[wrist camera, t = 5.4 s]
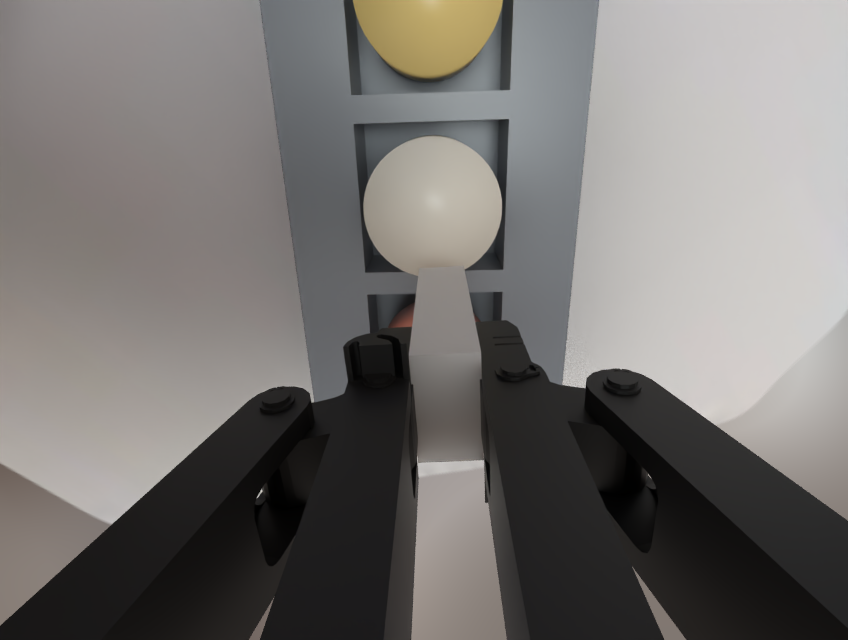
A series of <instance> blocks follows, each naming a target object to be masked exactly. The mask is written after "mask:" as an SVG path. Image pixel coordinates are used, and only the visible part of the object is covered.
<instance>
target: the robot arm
mask: <svg viewBox="0 0 848 640" xmlns="http://www.w3.org/2000/svg"><path fill="white" fill-rule="evenodd" d="M343 351H344V358H345V365H346V371H347V378H348V383H347V386H346V389H345V392H344V394H342V395H340V396H337V397H334V398H331V399H327V400H323V401H318V402H314V403H311V398H310V394H309V392H307V391H306V390H305V389H303V388H298V387H285V386H282V387H277V388H276V387H275V388H272V389H269V390H267V391H265V392H263V393H260V394H258V395H256V396H255V397H254V398H252V399H251V400H249V401H248V402H247V403H246V404H245V405H244V406H242V407H241V408H240V409H239V410H238V411H237V412H236V413H235V414H234V415H232V416H231V417H230V418H229V419H228V420H227V421H226V422H225V423H224V424H223V425H221V426H220V427H219V428H218V429H217V430H216V431H215V432H214V433H213V434H212V435H210V436H209V437H208V438H207V439H206V440H205V441H204V442H203V443H202V444H200V445H199V446H198V447H197V448H196V449H195V450H194V451H193V452H192V453H191V454H189V455H188V456H187V457H186V458H185V459H184V460H183V461H182V462H181V463H179V464H178V465H177V466H176V467H175V468H174V469H173V470H172V471H171V472H170V473H168V474H167V475H166V476H165V477H164V478H163V479H162V480H161V481H160V482H158V483H157V484H156V485H155V486H154V487H153V488H152V489H151V490H150V491H149V492H147V493H146V494H145V495H144V496H143V497H142V498H141V499H140V500H139V501H137V502H136V503H135V504H134V505H133V506H132V507H131V508H130V509H129V510H128V511H126V512H125V513H124V514H123V515H122V516H121V517H120V518H119V519H118V520H117V521H115V522H114V523H113V524H112V525H111V526H110V527H109V528H108V529H107V530H105V531H104V532H103V533H102V534H101V535H100V536H99V537H98V538H97V539H96V540H94V542H92V543H91V544H90V545H89V546H88V547H87V548H86V549H85V550H83V551H82V552H81V553H80V554H79V555H78V556H77V557H76V558H75V559H73V560H72V561H71V562H70V563H69V564H68V565H67V566H66V567H65V568H63V569H62V570H61V571H60V572H59V573H58V574H57V575H56V576H55V577H54V578H52V579H51V580H50V581H49V582H48V583H47V584H46V585H45V586H44V587H43V588H42V589H40V590H39V591H38V592H37V593H36V594H35V595H34V596H33V597H32V598H30V599H29V600H28V601H27V602H26V603H25V604H24V605H23V606H22V607H20V608H19V609H18V610H17V611H16V612H15V613H14V614H13V615H12V616H11V617H9V618H8V619H7V620H6V621H5V622H4V623H3V624H2V625H1V626H0V640H249V638H250V636H251V635H252V633H253V631H254V630H255V628H256V626H257V625H258V623H259V621H260V620H261V618H262V616H263V615H264V613H265V611H266V610H267V608H268V606H269V605H270V603H271V601H272V600H273V598H274V600H273V603H272V606H271V609H270V612H269V615H268V618H267V621H266V623H265V626H264V629H263V632H262V635H261V638H260V640H411V632H412V631H411V630H412V610H413V588H414V565H415V545H416V544H415V542H416V522H417V500H418V479H419V477H418V466H417V456H418V463H421V462H446V461H471V460H484V471H485V502H486V503H488V504H489V511H490V518H491V526H492V533H493V540H494V548H495V555H496V563H497V570H498V577H499V584H500V591H501V599H502V606H503V614H504V621H505V629H506V636H507V640H664V638H663V636H662V633H661V631H660V629H659V627H658V625H657V622H656V620H655V618H654V615H653V613H652V611H651V609H650V606H649V604H648V602H647V600H646V597H645V595H644V593H643V591H642V588H641V586H640V584H639V582H638V579H637V577H636V575H635V572H634V570H633V568H634V569H635V571H636V572H637V573H638V575H639V576H640V577H641V579H642V580H643V581H644V583H645V584H646V585H647V587H648V588H649V590H650V591H651V592H652V594H653V595H654V596H655V598H656V599H657V600H658V602H659V603H660V604H661V606H662V607H663V608H664V610H665V611H666V613H667V614H668V615H669V617H670V618H671V619H672V621H673V622H674V623H675V624H676V626H677V627H678V629H679V630H680V631H681V633H682V634H683V636H684V637H685V638H686V640H848V521H847V520H846V519H845V518H843V517H842V516H840V515H839V514H838V513H836V512H835V511H834V510H832V509H831V508H829V507H828V506H826V505H825V504H824V503H822V502H821V501H820V500H818V499H817V498H815V497H814V496H813V495H811V494H810V493H809V492H807V491H806V490H804V489H803V488H802V487H800V486H799V485H797V484H796V483H795V482H793V481H792V480H790V479H789V478H788V477H786V476H785V475H784V474H782V473H781V472H779V471H778V470H777V469H775V468H774V467H772V466H771V465H770V464H768V463H767V462H765V461H764V460H763V459H761V458H760V457H759V456H757V455H756V454H754V453H753V452H751V451H750V450H749V449H747V448H746V447H745V446H743V445H742V444H741V443H739V442H738V441H736V440H735V439H734V438H732V437H731V436H729V435H728V434H727V433H725V432H724V431H722V430H721V429H720V428H718V427H717V426H716V425H714V424H713V423H711V422H710V421H709V420H707V419H706V418H704V417H703V416H702V415H700V414H699V413H697V412H696V411H695V410H693V409H692V408H691V407H689V406H688V405H686V404H685V403H684V402H682V401H681V400H679V399H678V398H677V397H675V396H674V395H672V394H671V393H670V392H668V391H667V390H666V389H664V388H663V387H661V386H660V385H659V384H657V383H656V382H654V381H653V380H652V379H650V378H648V377H646V376H644V375H642V374H639V373H635V372H632V371H630V370H626V369H622V370H620V369H609V370H601V371H598V372H595V373H592V374H591V375H590V376H589V377H588V378H587V381H586V388H578V387H570V386H564V385H559V384H556V383H553V382H550V381H549V379H548V376H547V374H546V372H545V371H544V369H543V368H542V367H541V366H539V365H537V364H535V363H533V362H532V361H531V359H530V357H529V354H528V352H527V349H526V347H525V344H524V342H523V339H522V337H521V335H520V332H519V330H518V327H517V326H515V325H514V324H512V323H510V322H509V321H507V320H501V321H483V322H475V319H474V314H473V309H472V304H471V299H470V294H469V290H468V285H467V280H466V275H465V270H464V266H450V267H433V268H419V273H418V282H417V290H416V298H415V307H414V315H413V323H412V327H396V328H382V329H380V330H379V331H378V332H376V333H368V334H364V335H361V336H357V337H355V338H353V339H351V340H349V341H347V343H346V344H345V345H344V346H343ZM648 474H649V475H650V476H651V478H652V479H651V478H650V477H649V476H648ZM261 489H262V490H263V492H262V493H261V494H260V496H259V497H258V498H257V496H258V494H259V492H260V490H261ZM256 498H257V499H256ZM631 565H632V566H631ZM632 567H633V568H632ZM274 596H275V597H274Z"/></svg>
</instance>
